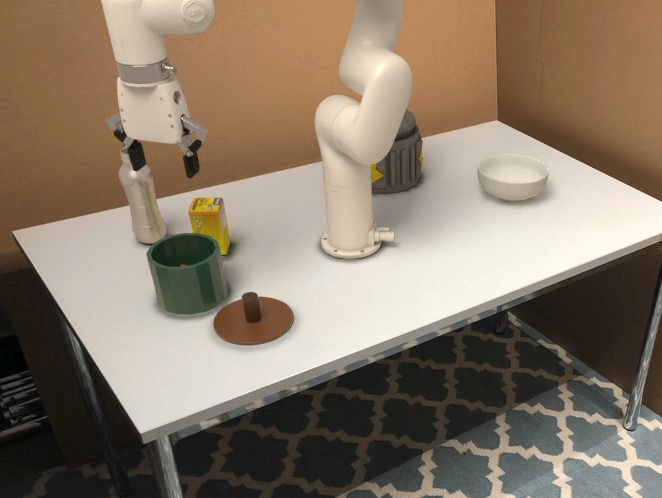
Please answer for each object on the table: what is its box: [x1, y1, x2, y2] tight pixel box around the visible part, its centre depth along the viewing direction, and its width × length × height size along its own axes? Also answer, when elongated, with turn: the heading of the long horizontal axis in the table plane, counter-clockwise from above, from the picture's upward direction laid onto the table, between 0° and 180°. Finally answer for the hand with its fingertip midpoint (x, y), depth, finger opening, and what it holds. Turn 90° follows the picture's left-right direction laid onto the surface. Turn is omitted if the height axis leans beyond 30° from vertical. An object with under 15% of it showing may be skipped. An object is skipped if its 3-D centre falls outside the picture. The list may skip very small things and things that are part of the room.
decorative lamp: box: [371, 108, 424, 194], centre depth 180 cm, size 19×19×30 cm
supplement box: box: [187, 196, 232, 258], centre depth 156 cm, size 6×6×11 cm
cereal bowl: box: [476, 153, 550, 203], centre depth 183 cm, size 17×17×7 cm
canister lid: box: [212, 291, 294, 346], centre depth 139 cm, size 14×14×6 cm
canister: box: [146, 232, 229, 316], centre depth 143 cm, size 13×13×10 cm
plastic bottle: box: [117, 147, 167, 245], centre depth 156 cm, size 6×7×20 cm
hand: (166, 171), depth 130 cm, fingers open, 9 cm apart
